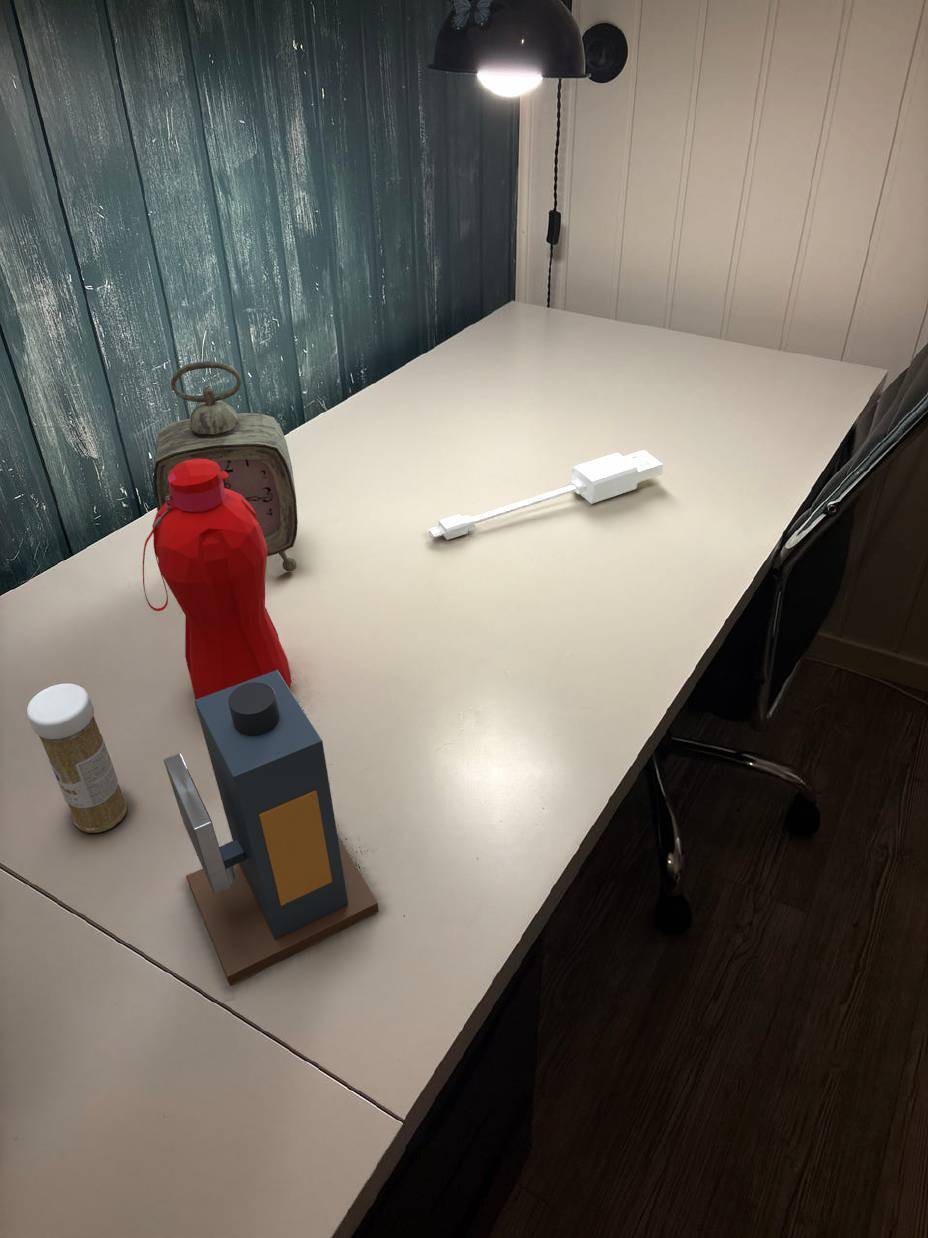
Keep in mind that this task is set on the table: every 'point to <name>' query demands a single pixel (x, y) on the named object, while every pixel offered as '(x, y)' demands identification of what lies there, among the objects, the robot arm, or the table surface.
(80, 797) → the sprinkles bottle
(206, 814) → the brushed metal plate
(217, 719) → the dispenser
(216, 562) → the water bottle
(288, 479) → the tabletop clock
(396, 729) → the table surface
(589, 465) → the charging cable
